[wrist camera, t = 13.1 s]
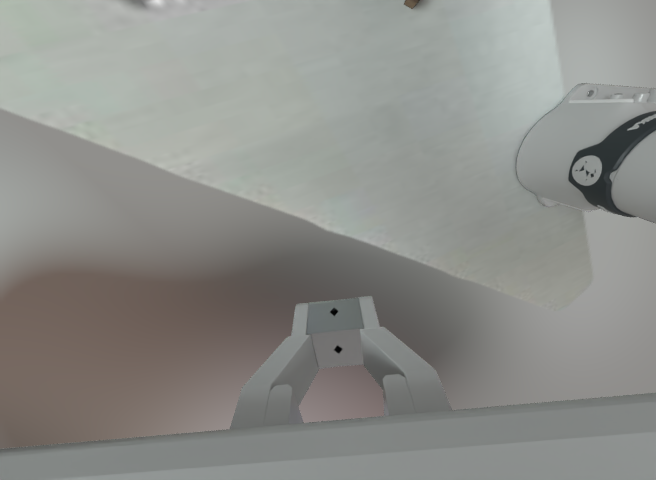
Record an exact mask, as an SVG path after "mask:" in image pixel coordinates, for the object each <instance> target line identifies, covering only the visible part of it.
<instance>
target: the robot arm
mask: <svg viewBox="0 0 656 480" xmlns="http://www.w3.org/2000/svg"><path fill="white" fill-rule="evenodd" d="M588 92H589V95H588V96H587V94H588ZM516 170H517V175H518V178H519V180H520V182H521V184H522V185H523V186H524V187H525V188H526V189H528V190H529V191H531V192H533V193H534V194H536V195H537V198H538V200H539V202H540V203H541V204H542V205H544V206H547V207H552V206H556V205H559V204H562V205H565V206H569V207H572V208H575V209H579V210H582V211H586V212H590V211H592V210H597V209H600V208H601V209H603V210H604V211H607V212H610V213H613V214H618V215H622V216H627V217H639V218H642V219H644V220H647V221H650V222H653V223H656V89H655V88H642V87H628V86H614V85H601V84H587V83H582V84H578V85H576V86H575V87H574V88H573V89H572V90H571V91H570V92H569V93H568V95H567V96H566V97H565V98H564V100H563V101H562V102H561V103H560V104H559V105H558V106H557V107H556V108H555V109H553V110H552V111H551V112H549V113H548V114H546V115H545V116H544V117H543V118H542V119H540V120H539V121H538V122H537V123H536V124H535V126H534V127H533V128H532V129H531V130H530V132H529V133H528V134H527V136H526V138H525V139H524V141H523V143H522V145H521V147H520V150H519V153H518V157H517V163H516ZM349 365H364V366H365V368H366V369H367V370H368V372H369V373H370V374H371V375H372V377H373V378H374V379H375V381H376V382H377V383H378V384H379V386H380V387H381V388H382V389H383V398H384V416H379V417H368V418H356V419H345V420H333V421H321V422H309V423H303V420H302V416H301V413H300V410H299V407H298V406H299V405H300V403H301V401H302V399H303V397H304V395H305V394H306V392H307V390H308V389H309V387H310V385H311V383H312V381H313V380H314V378H315V376H316V374H317V373H318V370H319V369H322V368H329V367H337V366H349ZM0 480H656V393H647V394H635V395H624V396H613V397H600V398H589V399H578V400H565V401H554V402H542V403H530V404H519V405H507V406H495V407H484V408H472V409H461V410H452V408H451V406H450V403H449V401H448V399H447V396H446V394H445V392H444V389H443V387H442V385H441V382H440V380H439V377H438V375H437V372H436V370H435V369H434V368H433V367H431V366H430V365H429V364H428V363H426V362H425V361H424V360H423V359H422V358H420V357H419V356H418V355H417V354H416V353H415V352H413V351H412V350H411V349H410V348H409V347H407V346H406V345H405V344H404V343H403V342H401V341H400V340H399V339H398V338H397V337H395V336H394V335H393V334H392V333H391V332H389V331H388V330H387V329H386V328H385V327H380V326H379V322H378V318H377V314H376V310H375V306H374V302H373V298H372V296H366V297H359V298H351V299H343V300H334V301H323V302H311V303H303V304H297V305H296V308H295V315H294V321H293V328H292V334H291V337H287V338H286V339H285V340H284V341H283V342H282V343H281V345H280V346H279V347H278V348H277V349H276V350H275V351H274V352H273V354H272V355H271V356H270V357H269V358H268V359H267V360H266V362H265V363H264V364H263V365H262V366H261V367H260V368H259V369H258V370H257V372H256V373H255V374H254V375H253V376H252V377H251V378H250V379H249V381H248V382H247V383H246V384H245V385H244V386H243V387H242V390H241V394H240V397H239V400H238V403H237V407H236V410H235V414H234V417H233V420H232V423H231V427H230V429H229V430H216V431H204V432H193V433H181V434H170V435H157V436H146V437H134V438H122V439H111V440H99V441H87V442H76V443H64V444H52V445H41V446H28V447H17V448H5V449H0Z"/></svg>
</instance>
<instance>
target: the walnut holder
mask: <svg viewBox="0 0 656 480" xmlns="http://www.w3.org/2000/svg"><path fill="white" fill-rule="evenodd" d="M418 1H419V0H405V3H404V5H406V6H408V7H410V8H411V9H412V8H413V7H414V6H415V5H416V4H417V2H418Z"/></svg>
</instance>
